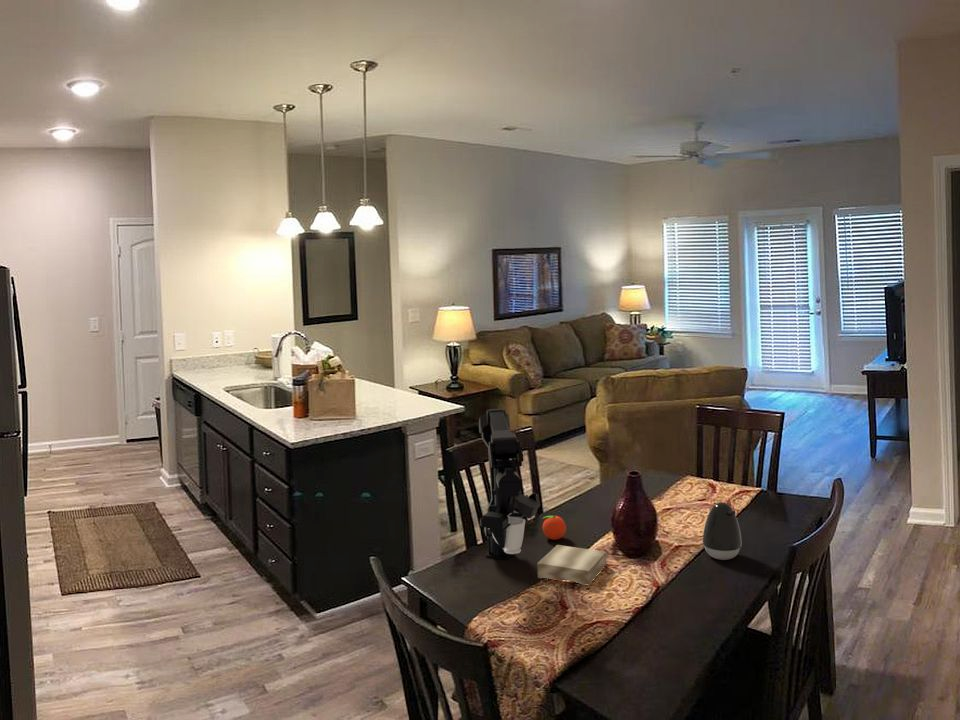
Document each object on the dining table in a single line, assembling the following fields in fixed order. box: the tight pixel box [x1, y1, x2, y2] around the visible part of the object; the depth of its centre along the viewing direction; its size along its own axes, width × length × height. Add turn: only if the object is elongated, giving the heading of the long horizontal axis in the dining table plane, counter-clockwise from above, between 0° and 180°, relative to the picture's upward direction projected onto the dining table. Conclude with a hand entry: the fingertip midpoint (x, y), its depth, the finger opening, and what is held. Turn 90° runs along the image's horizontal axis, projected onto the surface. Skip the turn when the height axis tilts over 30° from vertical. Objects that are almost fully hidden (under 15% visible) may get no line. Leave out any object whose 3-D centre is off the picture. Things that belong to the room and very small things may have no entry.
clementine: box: [542, 515, 567, 540], centre depth 234 cm, size 8×7×7 cm
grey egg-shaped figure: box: [702, 501, 743, 561], centre depth 216 cm, size 10×10×15 cm
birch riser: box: [536, 544, 607, 585], centre depth 210 cm, size 14×14×4 cm
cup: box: [492, 517, 526, 555], centre depth 204 cm, size 7×10×8 cm
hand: (507, 543), depth 204 cm, fingers closed on cup, 6 cm apart
